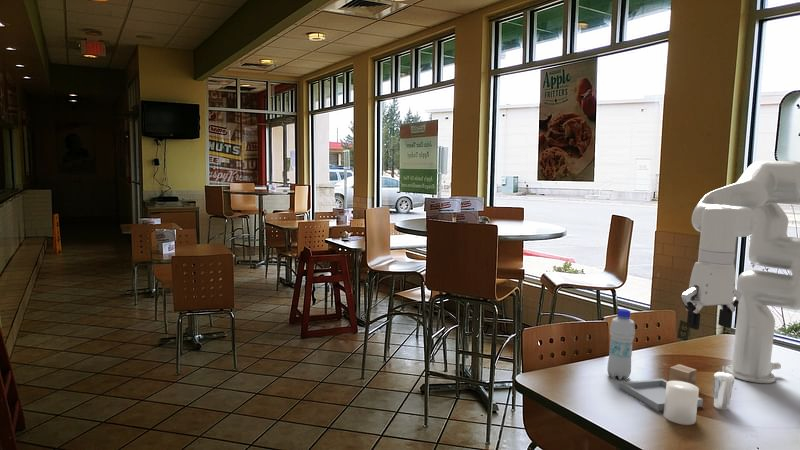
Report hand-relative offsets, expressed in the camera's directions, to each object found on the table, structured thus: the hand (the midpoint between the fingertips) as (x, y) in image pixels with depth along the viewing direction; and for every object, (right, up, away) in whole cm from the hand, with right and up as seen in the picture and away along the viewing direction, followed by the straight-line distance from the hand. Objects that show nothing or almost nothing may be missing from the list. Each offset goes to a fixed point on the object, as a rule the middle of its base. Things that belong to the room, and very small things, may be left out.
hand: (708, 327), depth 136 cm
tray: (-7, -21, +11) cm, 24 cm away
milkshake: (+7, -22, +7) cm, 24 cm away
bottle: (-12, -19, +25) cm, 34 cm away
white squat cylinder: (-8, -22, -1) cm, 23 cm away
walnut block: (+4, -20, +20) cm, 29 cm away
